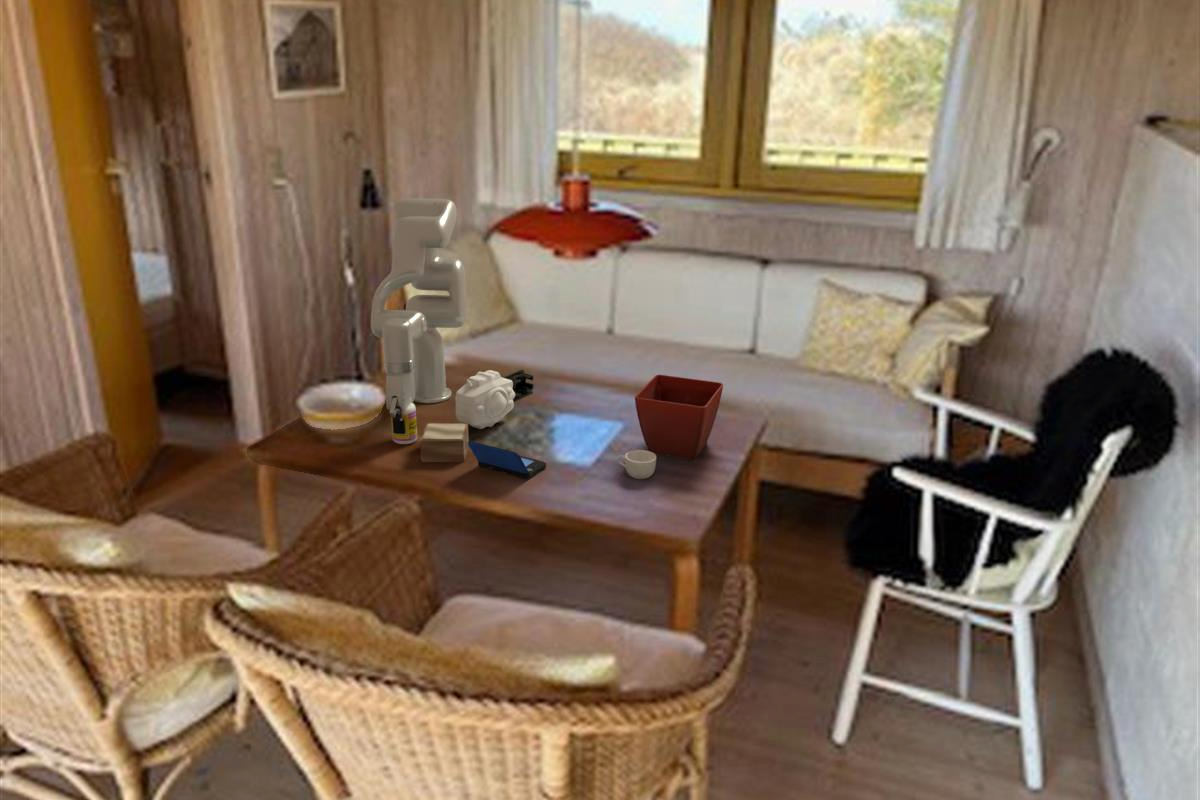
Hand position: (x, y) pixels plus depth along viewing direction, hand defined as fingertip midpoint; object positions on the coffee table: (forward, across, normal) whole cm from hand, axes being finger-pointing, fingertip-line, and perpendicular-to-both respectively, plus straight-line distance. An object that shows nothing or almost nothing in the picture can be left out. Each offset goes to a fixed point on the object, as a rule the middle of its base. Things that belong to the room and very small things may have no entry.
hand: (404, 427), depth 248 cm
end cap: (+5, -39, +21) cm, 45 cm away
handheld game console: (+4, +12, +32) cm, 34 cm away
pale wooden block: (+4, +6, +13) cm, 15 cm away
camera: (+4, -14, +19) cm, 24 cm away
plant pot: (+4, -8, +73) cm, 74 cm away
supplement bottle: (+4, 0, 0) cm, 4 cm away
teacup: (+4, +10, +64) cm, 65 cm away
